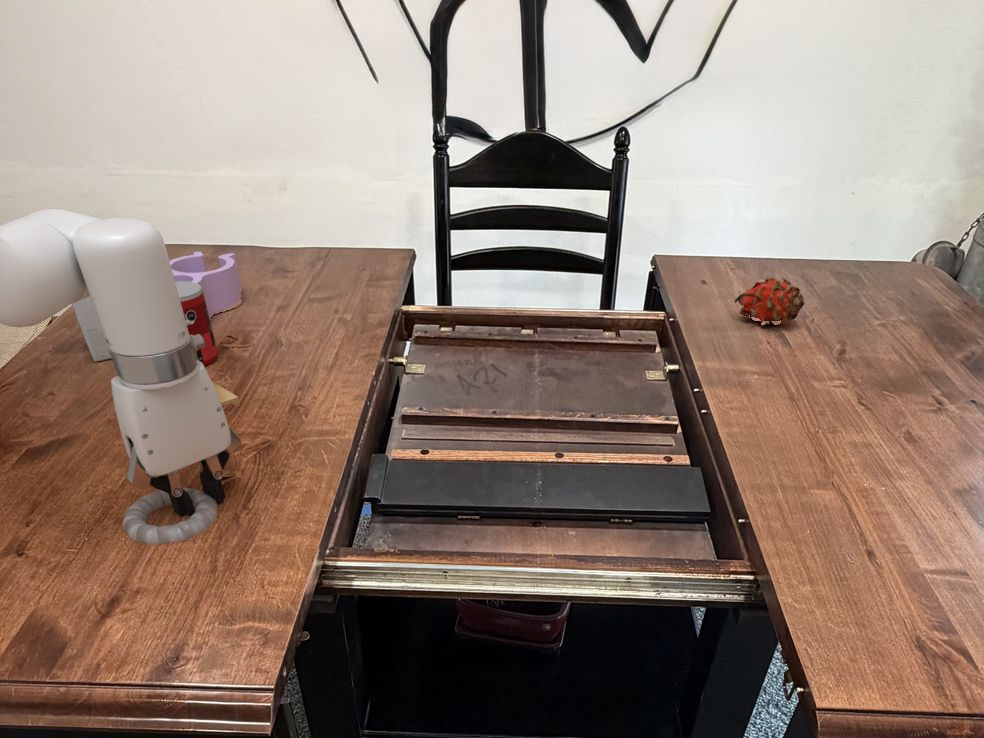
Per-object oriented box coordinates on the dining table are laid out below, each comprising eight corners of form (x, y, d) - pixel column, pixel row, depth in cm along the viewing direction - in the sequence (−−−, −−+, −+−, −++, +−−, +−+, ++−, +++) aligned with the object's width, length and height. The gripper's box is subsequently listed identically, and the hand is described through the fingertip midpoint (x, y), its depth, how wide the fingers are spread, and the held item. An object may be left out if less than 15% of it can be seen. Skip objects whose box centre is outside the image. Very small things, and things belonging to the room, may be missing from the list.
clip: (212, 330, 124) (201, 289, 119) (144, 326, 125) (131, 285, 120) (254, 291, 139) (247, 254, 134) (193, 288, 140) (184, 250, 135)
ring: (154, 564, 76) (147, 546, 74) (111, 525, 81) (104, 508, 79) (236, 525, 81) (232, 507, 80) (192, 491, 86) (186, 474, 85)
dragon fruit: (799, 338, 129) (731, 338, 134) (805, 298, 131) (737, 299, 135) (804, 309, 122) (731, 310, 126) (810, 266, 123) (738, 268, 127)
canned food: (157, 366, 113) (135, 294, 105) (188, 347, 118) (169, 278, 111) (199, 373, 111) (180, 301, 104) (228, 353, 117) (211, 284, 109)
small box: (130, 356, 115) (108, 289, 108) (93, 362, 113) (68, 294, 106) (122, 339, 120) (100, 274, 113) (86, 345, 118) (62, 279, 111)
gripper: (209, 327, 77) (246, 474, 89) (55, 372, 68) (120, 528, 80) (247, 347, 73) (280, 497, 85) (90, 397, 64) (152, 557, 76)
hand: (202, 511), depth 83 cm, fingers closed on ring, 3 cm apart
